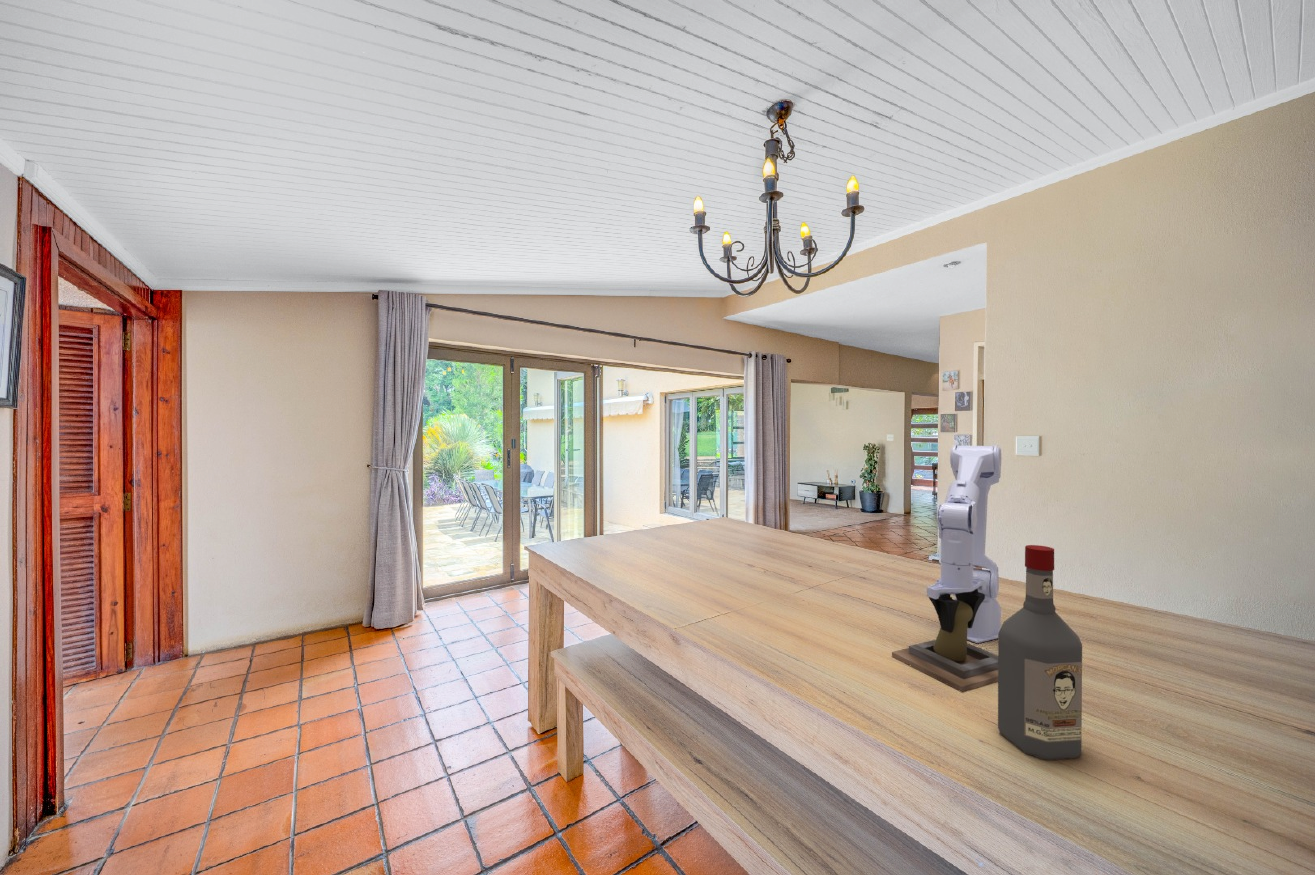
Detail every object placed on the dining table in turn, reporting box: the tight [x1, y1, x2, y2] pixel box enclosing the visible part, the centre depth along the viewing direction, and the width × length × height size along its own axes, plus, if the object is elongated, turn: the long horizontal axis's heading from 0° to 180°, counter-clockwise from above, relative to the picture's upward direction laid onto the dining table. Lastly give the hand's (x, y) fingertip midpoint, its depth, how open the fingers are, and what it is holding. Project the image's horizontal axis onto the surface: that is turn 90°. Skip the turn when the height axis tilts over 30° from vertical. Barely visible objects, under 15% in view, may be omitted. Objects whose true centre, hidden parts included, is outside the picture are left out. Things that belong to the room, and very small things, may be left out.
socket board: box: [891, 639, 998, 693], centre depth 106 cm, size 18×16×2 cm
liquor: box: [997, 544, 1083, 761], centre depth 80 cm, size 9×9×30 cm
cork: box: [933, 600, 973, 661], centre depth 106 cm, size 6×6×11 cm
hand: (956, 628), depth 105 cm, fingers closed on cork, 5 cm apart
